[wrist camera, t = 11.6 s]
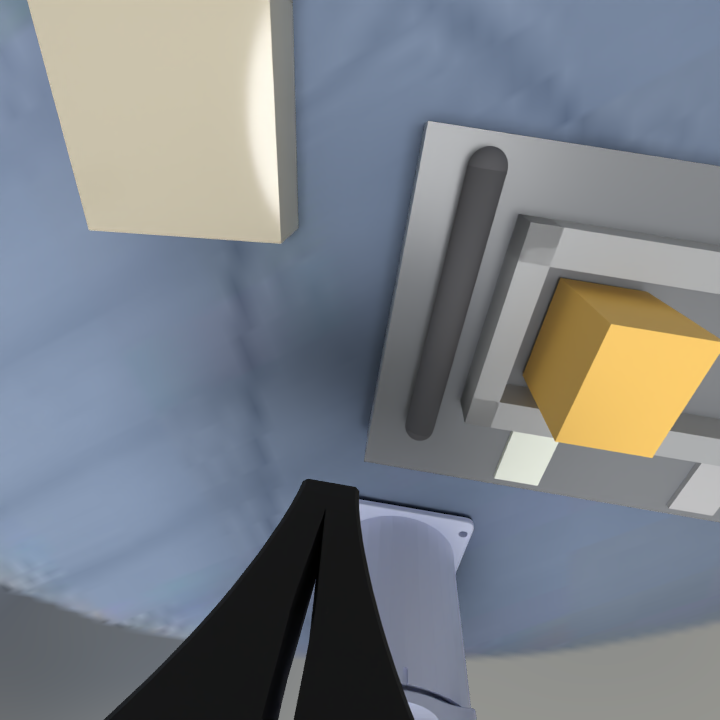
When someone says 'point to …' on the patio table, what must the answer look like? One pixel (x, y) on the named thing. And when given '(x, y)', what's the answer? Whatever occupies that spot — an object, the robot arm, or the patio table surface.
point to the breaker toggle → (615, 367)
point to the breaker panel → (530, 305)
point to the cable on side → (456, 285)
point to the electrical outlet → (177, 113)
